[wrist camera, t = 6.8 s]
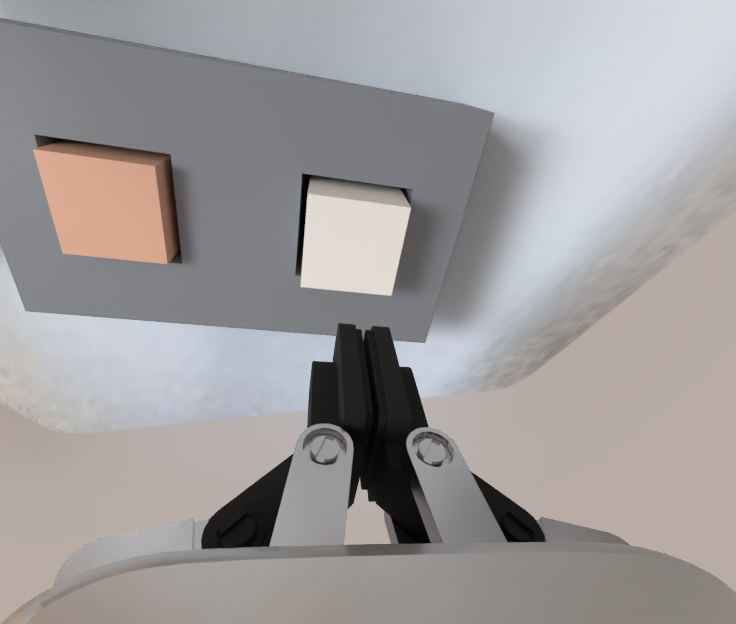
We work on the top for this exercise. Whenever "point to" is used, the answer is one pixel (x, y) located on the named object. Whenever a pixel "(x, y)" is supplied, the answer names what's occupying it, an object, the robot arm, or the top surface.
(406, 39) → the top surface
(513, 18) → the top surface
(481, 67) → the top surface
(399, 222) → the white key
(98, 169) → the light orange cube
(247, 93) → the key panel
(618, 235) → the top surface
